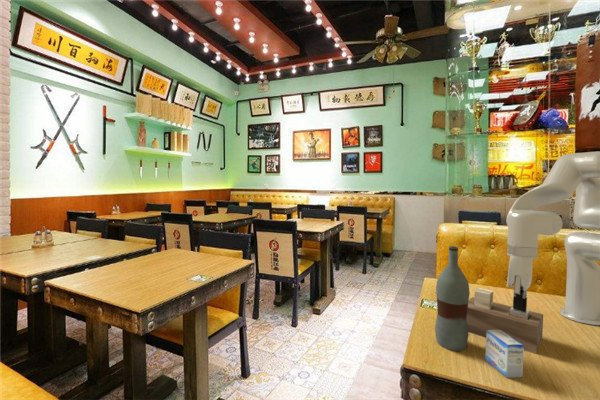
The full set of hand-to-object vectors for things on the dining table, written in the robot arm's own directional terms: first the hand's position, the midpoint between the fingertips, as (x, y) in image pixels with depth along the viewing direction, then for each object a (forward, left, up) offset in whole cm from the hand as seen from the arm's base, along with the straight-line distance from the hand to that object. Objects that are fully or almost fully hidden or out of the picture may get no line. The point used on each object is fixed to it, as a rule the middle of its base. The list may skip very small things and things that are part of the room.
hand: (519, 309), depth 92 cm
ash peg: (0, -10, -5) cm, 11 cm away
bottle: (+18, -14, -10) cm, 25 cm away
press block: (0, -5, -10) cm, 11 cm away
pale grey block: (0, 0, -8) cm, 8 cm away
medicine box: (+21, 0, -10) cm, 23 cm away
